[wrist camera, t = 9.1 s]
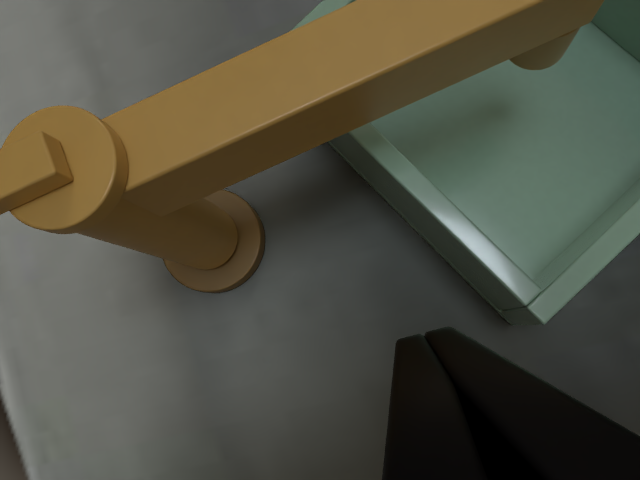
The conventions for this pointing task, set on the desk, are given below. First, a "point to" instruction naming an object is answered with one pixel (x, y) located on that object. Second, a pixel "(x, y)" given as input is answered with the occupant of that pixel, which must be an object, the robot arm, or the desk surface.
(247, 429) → the desk surface
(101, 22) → the desk surface
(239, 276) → the base
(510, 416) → the robot arm
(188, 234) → the faucet
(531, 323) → the green open box
